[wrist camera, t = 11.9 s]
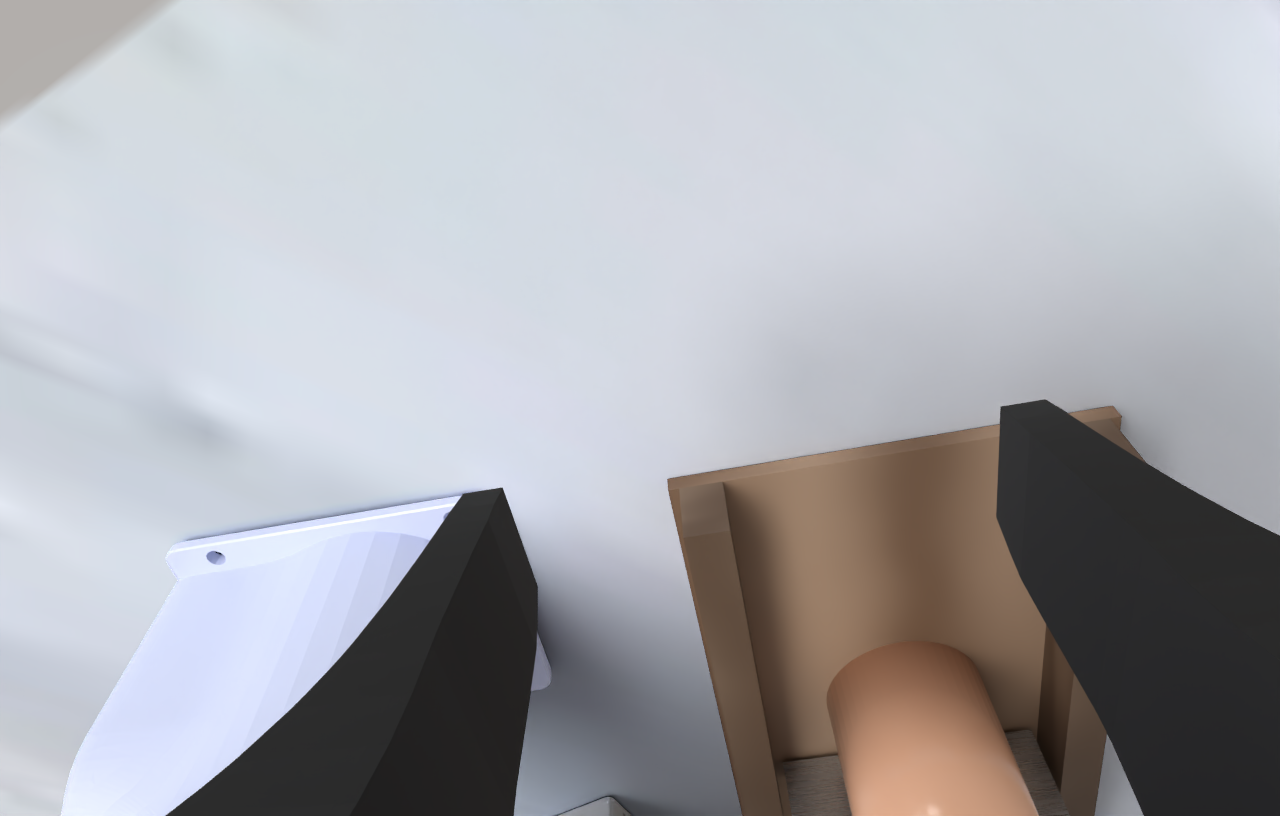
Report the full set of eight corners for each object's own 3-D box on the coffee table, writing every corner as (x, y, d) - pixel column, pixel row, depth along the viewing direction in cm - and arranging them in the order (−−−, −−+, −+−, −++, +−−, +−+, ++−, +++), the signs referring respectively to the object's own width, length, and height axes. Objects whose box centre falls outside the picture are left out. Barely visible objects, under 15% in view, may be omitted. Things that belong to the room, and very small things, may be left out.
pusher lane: (762, 896, 37) (781, 1049, 32) (667, 478, 25) (677, 629, 20) (1058, 861, 36) (1122, 1014, 31) (1112, 405, 23) (1231, 547, 19)
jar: (830, 752, 31) (882, 990, 24) (816, 652, 28) (872, 891, 22) (982, 732, 30) (1076, 969, 24) (984, 627, 27) (1091, 865, 21)
